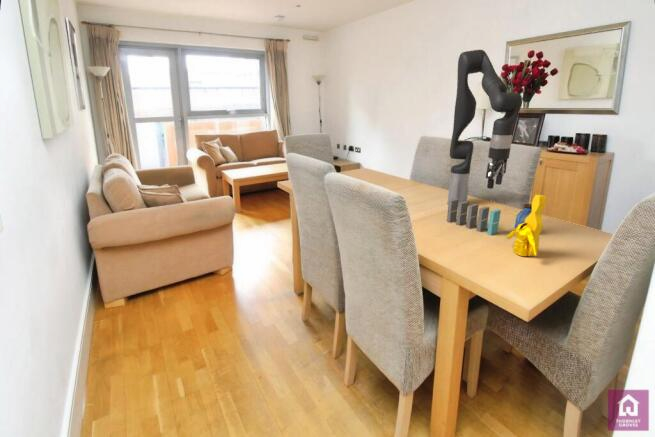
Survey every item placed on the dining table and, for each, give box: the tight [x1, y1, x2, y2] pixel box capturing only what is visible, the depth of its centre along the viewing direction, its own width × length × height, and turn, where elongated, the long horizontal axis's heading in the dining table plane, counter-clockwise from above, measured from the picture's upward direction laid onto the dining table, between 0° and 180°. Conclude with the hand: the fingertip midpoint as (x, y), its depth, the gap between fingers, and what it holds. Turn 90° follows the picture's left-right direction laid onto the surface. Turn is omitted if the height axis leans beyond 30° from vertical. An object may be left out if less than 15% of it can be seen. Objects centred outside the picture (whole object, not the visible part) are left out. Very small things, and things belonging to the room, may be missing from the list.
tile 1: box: [446, 199, 459, 223], centre depth 165 cm, size 5×2×10 cm, turn 126°
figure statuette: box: [505, 194, 547, 257], centre depth 128 cm, size 18×8×22 cm, turn 6°
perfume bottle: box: [513, 203, 532, 230], centre depth 151 cm, size 6×6×12 cm
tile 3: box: [465, 203, 480, 230], centre depth 157 cm, size 5×2×10 cm, turn 126°
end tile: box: [486, 208, 502, 236], centre depth 149 cm, size 5×2×10 cm, turn 126°
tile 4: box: [476, 206, 490, 233], centre depth 153 cm, size 5×2×10 cm, turn 126°
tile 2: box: [455, 201, 469, 226], centre depth 161 cm, size 5×2×10 cm, turn 126°
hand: (494, 186), depth 147 cm, fingers open, 8 cm apart
